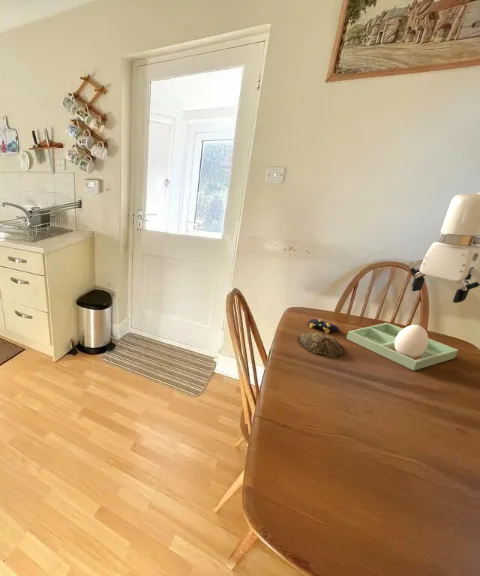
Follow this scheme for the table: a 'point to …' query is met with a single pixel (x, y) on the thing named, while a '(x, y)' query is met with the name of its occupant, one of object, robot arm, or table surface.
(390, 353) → the divided tray
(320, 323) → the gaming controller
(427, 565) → the table surface
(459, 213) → the robot arm
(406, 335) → the egg
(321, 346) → the brown rock
